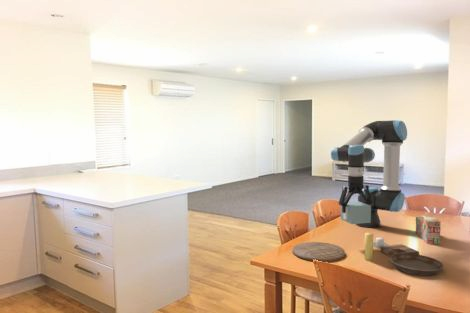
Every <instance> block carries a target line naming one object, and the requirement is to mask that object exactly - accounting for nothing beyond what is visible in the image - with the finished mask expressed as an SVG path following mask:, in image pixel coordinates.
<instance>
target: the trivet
mask: <svg viewBox="0 0 470 313" xmlns="http://www.w3.org/2000/svg"><path fill="white" fill-rule="evenodd" d="M292 254H293V255H294V256H295V257H297V258H298V259H301V260H304V261H308V262H313V259H316V260H318V261H327V262H326V263H330V262H336V261H341V260H342V259H344V258H345V256H346V252H345V249H344V248H343V247H341V246H339V245H336V244H333V243H329V242H321V241H315V242H314V241H308V242H303V243H297V244H295V245H294V246H293V247H292Z"/></svg>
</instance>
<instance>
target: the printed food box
mask: <svg viewBox="0 0 470 313" xmlns="http://www.w3.org/2000/svg"><path fill="white" fill-rule="evenodd" d="M441 225H442V224H441V220H440V219H438V218H436V217H435V216H434V215H424V214H423V215H420V216H416V217H415V233H416V234H417V235H418V236H419V237H420V238H421V240H423V241H424V242H425V243H426V244H428V245H429V244H433V245H440V244H441Z"/></svg>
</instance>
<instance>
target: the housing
mask: <svg viewBox="0 0 470 313" xmlns="http://www.w3.org/2000/svg"><path fill="white" fill-rule="evenodd" d="M346 206H347V207H348V219H347V220H346V219H344V218H343V212H342V206H341V205H340V220H341V221H343V222H346V223H348V224H350V225H356V224H361V223H371V205H368V204H365V203H362V202H358V201H349V202H348V204H347V205H346Z"/></svg>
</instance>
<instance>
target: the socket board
mask: <svg viewBox="0 0 470 313" xmlns="http://www.w3.org/2000/svg"><path fill="white" fill-rule="evenodd" d="M379 249H380V252H381V253H383V254H385V255H387V256H389V257H391V256H393V255H396V254H416V255H420V251H418V250H415V249H413V248H411V247H409V246H406V245H405V244H403V243H400V244H399V243H398V244H389V245H388V246H381V247H380V248H379Z"/></svg>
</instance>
